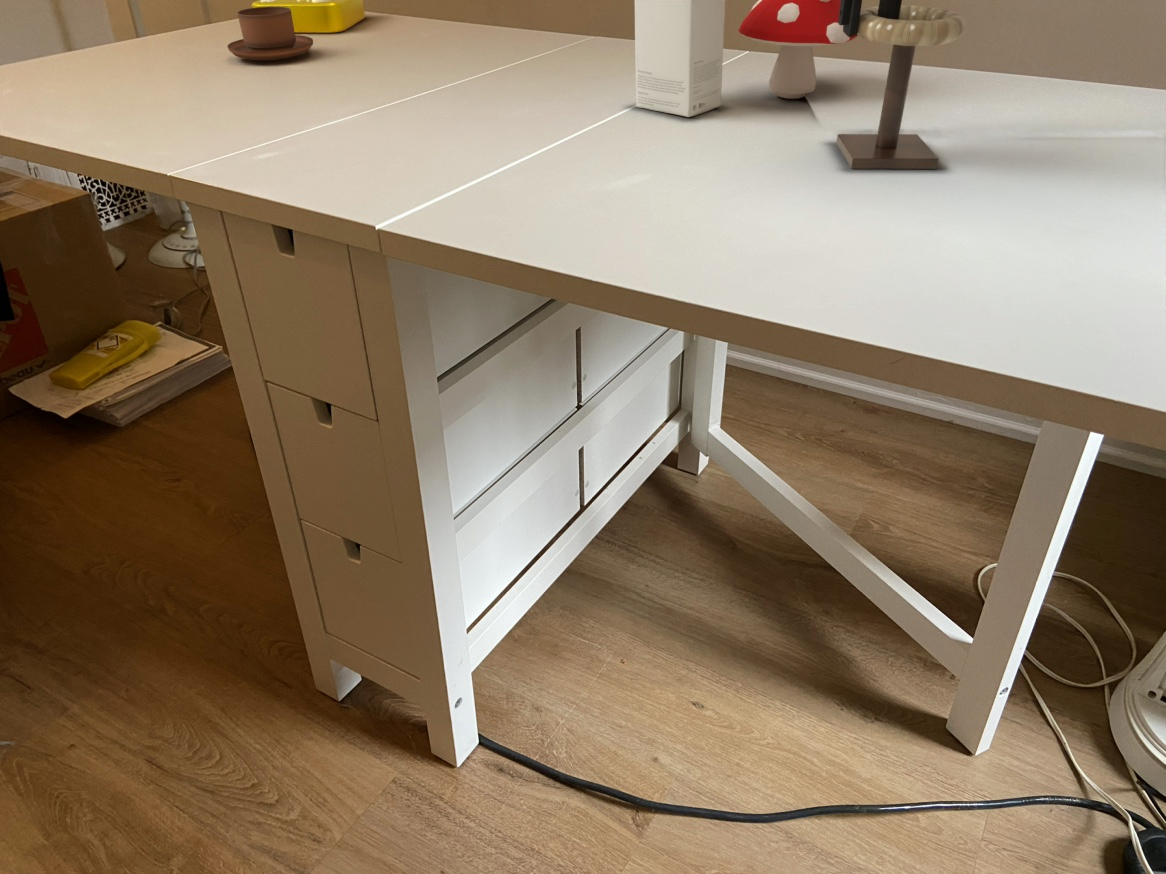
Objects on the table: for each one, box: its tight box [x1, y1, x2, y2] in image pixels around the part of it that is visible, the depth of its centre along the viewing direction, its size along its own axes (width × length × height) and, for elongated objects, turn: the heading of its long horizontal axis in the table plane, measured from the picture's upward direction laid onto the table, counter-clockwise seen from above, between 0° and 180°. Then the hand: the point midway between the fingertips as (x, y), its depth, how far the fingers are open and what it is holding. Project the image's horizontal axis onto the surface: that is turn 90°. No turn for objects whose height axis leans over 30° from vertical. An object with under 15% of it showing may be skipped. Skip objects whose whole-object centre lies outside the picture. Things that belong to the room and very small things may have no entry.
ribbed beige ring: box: [857, 4, 967, 47], centre depth 80 cm, size 10×10×2 cm
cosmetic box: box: [634, 0, 726, 118], centre depth 98 cm, size 8×7×16 cm
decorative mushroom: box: [737, 0, 859, 100], centre depth 101 cm, size 14×14×15 cm
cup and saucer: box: [227, 7, 314, 61], centre depth 127 cm, size 12×12×6 cm
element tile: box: [251, 0, 366, 34], centre depth 148 cm, size 15×15×5 cm
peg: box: [836, 44, 939, 170], centre depth 83 cm, size 8×8×12 cm
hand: (866, 32), depth 80 cm, fingers closed on ribbed beige ring, 2 cm apart
